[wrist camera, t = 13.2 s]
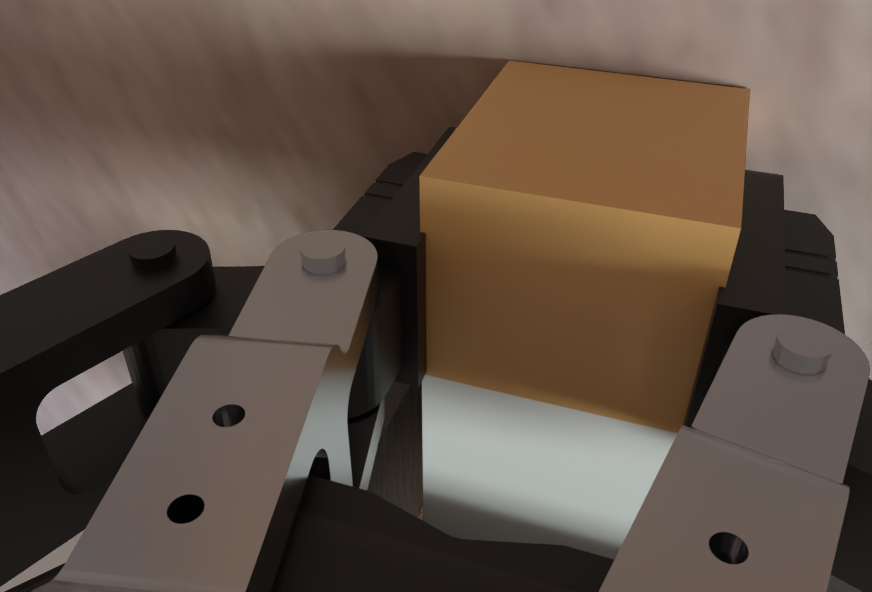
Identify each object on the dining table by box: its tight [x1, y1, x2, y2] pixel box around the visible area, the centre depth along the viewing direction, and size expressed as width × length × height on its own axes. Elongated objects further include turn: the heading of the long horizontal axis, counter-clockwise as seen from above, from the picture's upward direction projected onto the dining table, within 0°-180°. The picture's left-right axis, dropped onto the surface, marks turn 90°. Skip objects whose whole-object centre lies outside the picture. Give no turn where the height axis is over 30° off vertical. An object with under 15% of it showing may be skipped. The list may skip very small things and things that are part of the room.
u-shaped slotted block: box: [367, 381, 862, 592], centre depth 13 cm, size 12×4×7 cm, turn 90°
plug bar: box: [419, 61, 750, 559], centre depth 15 cm, size 4×16×4 cm, turn 0°
